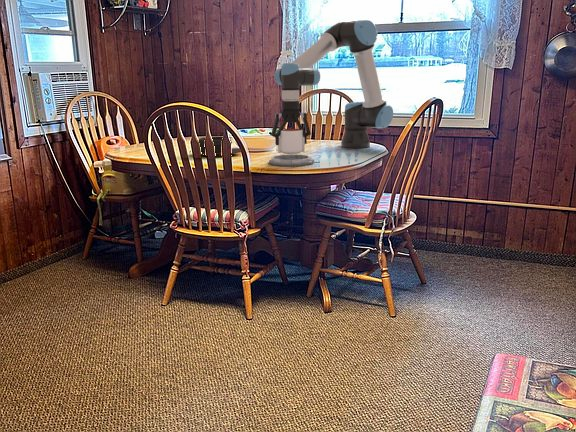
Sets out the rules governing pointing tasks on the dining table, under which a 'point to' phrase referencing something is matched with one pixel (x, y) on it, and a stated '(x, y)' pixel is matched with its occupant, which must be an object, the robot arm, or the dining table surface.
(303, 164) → the ring collar
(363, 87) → the robot arm
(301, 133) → the cup
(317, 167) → the dining table surface
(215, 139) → the casserole
